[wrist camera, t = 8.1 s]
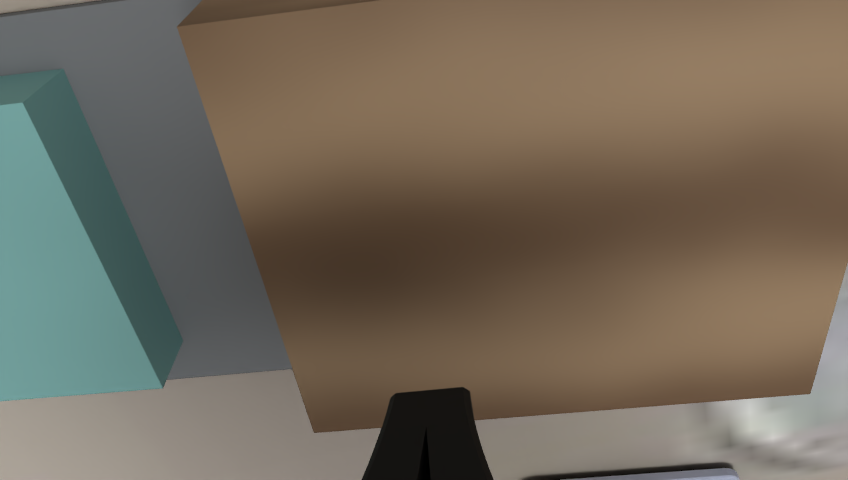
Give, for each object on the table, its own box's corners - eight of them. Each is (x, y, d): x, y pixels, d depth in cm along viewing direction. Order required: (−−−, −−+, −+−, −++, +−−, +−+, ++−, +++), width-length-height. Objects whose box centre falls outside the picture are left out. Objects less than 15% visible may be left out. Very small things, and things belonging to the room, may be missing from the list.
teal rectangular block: (-31, 403, 20) (3, 355, 22) (162, 387, 20) (183, 340, 22) (-232, 131, 15) (-168, 96, 17) (22, 102, 15) (63, 68, 16)
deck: (766, 321, 21) (810, 393, 19) (327, 359, 22) (314, 433, 20) (855, -102, 14) (943, -74, 12) (217, -15, 16) (176, 26, 13)
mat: (327, 359, 22) (325, 366, 22) (-16, 389, 23) (-21, 396, 23) (217, -15, 16) (213, -12, 15) (-261, 49, 17) (-272, 53, 16)
